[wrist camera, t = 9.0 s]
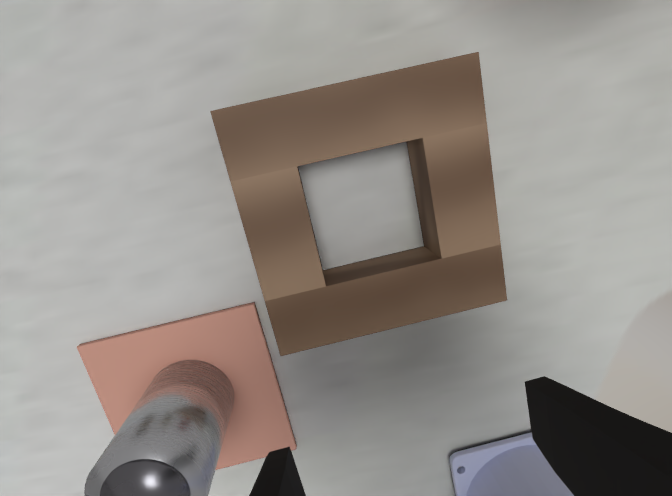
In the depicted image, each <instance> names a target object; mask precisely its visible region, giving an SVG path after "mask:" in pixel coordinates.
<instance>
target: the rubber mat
mask: <svg viewBox="0 0 672 496" xmlns="http://www.w3.org/2000/svg"><path fill="white" fill-rule="evenodd" d="M77 349H78V351H79V353H80V356H81V358H82V360H83V363H84V365H85V367H86V370H87V372H88V374H89V376H90V379H91V381H92V383H93V386H94V388H95V390H96V393H97V395H98V397H99V399H100V402H101V404H102V406H103V409H104V411H105V413H106V416H107V418H108V420H109V422H110V425H111V427H112V429H113V432H114V434H115V435H116V433H117V432H118V430H119V429H120V427H121V426H122V425H123V423H124V422H125V420H126V419H127V417H128V416H129V414H130V413H131V411H132V410H133V408H134V407H135V405H136V404H137V402H138V401H139V400H140V398H141V397H142V395H143V394H144V392H145V391H146V389H147V388H148V386H149V385H150V383H151V382H152V380H153V379H154V377H155V376H156V375H157V374H158V373H159V371H161V370H162V369H163V368H164V367H166V366H168V365H170V364H172V363H174V362H178V361H182V360H199V361H204V362H207V363H209V364H212V365H214V366H215V367H217V368H219V369H220V370H221V371H222V372H223V373H224V374H225V375H226V376H227V377H228V379H229V380H230V382H231V384H232V386H233V390H234V405H233V409H232V412H231V416H230V419H229V423H228V427H227V430H226V434H225V437H224V441H223V444H222V448H221V451H220V455H219V458H218V462H217V466H216V469H215V470H217V469H221V468H225V467H229V466H233V465H237V464H240V463H244V462H248V461H252V460H256V459H260V458H264V457H267V455H268V453H269V452H271V451H275V450H278V449H282V448H286V447H289V446H290V449H291V450H295V449H296V447H297V445H296V442H295V438H294V435H293V432H292V428H291V425H290V421H289V418H288V415H287V411H286V408H285V404H284V401H283V398H282V394H281V391H280V387H279V384H278V381H277V377H276V374H275V370H274V367H273V364H272V360H271V357H270V353H269V350H268V347H267V343H266V340H265V336H264V333H263V330H262V326H261V323H260V319H259V316H258V313H257V309H256V306H255V302H253V303H249V304H245V305H241V306H236V307H232V308H228V309H224V310H220V311H216V312H212V313H207V314H203V315H199V316H195V317H191V318H187V319H182V320H178V321H174V322H170V323H166V324H162V325H158V326H153V327H149V328H145V329H141V330H137V331H133V332H128V333H124V334H120V335H116V336H112V337H108V338H104V339H99V340H95V341H91V342H87V343H83V344H80V345H79V346H77Z"/></svg>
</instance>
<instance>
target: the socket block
mask: <svg viewBox="0 0 672 496" xmlns="http://www.w3.org/2000/svg"><path fill="white" fill-rule="evenodd" d="M210 112H211V115H212V119H213V122H214V126H215V129H216V133H217V136H218V140H219V143H220V146H221V150H222V153H223V157H224V160H225V164H226V167H227V171H228V174H229V178H230V181H231V185H232V188H233V192H234V195H235V199H236V202H237V206H238V209H239V213H240V216H241V220H242V223H243V227H244V230H245V234H246V237H247V241H248V244H249V248H250V251H251V255H252V258H253V262H254V265H255V269H256V272H257V275H258V279H259V282H260V286H261V289H262V293H263V296H264V300H265V303H266V307H267V310H268V314H269V317H270V321H271V324H272V328H273V331H274V335H275V338H276V342H277V345H278V349H279V352H280V356H283V355H287V354H291V353H295V352H299V351H303V350H308V349H312V348H316V347H320V346H324V345H328V344H332V343H336V342H340V341H344V340H348V339H352V338H356V337H360V336H364V335H368V334H372V333H376V332H381V331H385V330H389V329H393V328H397V327H401V326H405V325H409V324H413V323H417V322H421V321H425V320H429V319H433V318H437V317H441V316H445V315H449V314H454V313H458V312H462V311H466V310H470V309H474V308H478V307H482V306H486V305H490V304H494V303H498V302H502V301H506V300H507V295H506V287H505V278H504V269H503V261H502V252H501V243H500V235H499V226H498V217H497V208H496V200H495V191H494V182H493V174H492V165H491V156H490V148H489V139H488V130H487V122H486V113H485V104H484V96H483V87H482V78H481V69H480V61H479V52H476V53H471V54H467V55H462V56H458V57H453V58H449V59H444V60H440V61H435V62H431V63H426V64H422V65H417V66H413V67H408V68H404V69H399V70H395V71H390V72H385V73H381V74H376V75H372V76H367V77H363V78H358V79H354V80H349V81H345V82H340V83H336V84H331V85H327V86H322V87H318V88H313V89H309V90H304V91H300V92H295V93H291V94H286V95H281V96H277V97H272V98H268V99H263V100H259V101H254V102H250V103H245V104H241V105H236V106H232V107H227V108H223V109H218V110H214V111H210ZM406 141H407V146H408V152H409V158H410V164H411V170H412V176H413V182H414V188H415V194H416V200H417V206H418V212H419V218H420V224H421V230H422V236H423V242H424V246H423V247H419V248H415V249H411V250H406V251H402V252H398V253H394V254H390V255H386V256H381V257H377V258H373V259H369V260H365V261H360V262H356V263H352V264H348V265H344V266H340V267H335V268H331V269H327V270H323V269H322V265H321V261H320V257H319V253H318V249H317V244H316V240H315V236H314V232H313V228H312V224H311V219H310V215H309V211H308V207H307V203H306V199H305V194H304V190H303V186H302V182H301V178H300V174H299V170H298V166H301V165H305V164H310V163H314V162H318V161H323V160H327V159H332V158H336V157H340V156H345V155H349V154H354V153H358V152H362V151H367V150H371V149H375V148H380V147H384V146H389V145H393V144H397V143H402V142H406Z"/></svg>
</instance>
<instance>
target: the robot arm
mask: <svg viewBox="0 0 672 496" xmlns="http://www.w3.org/2000/svg"><path fill="white" fill-rule="evenodd" d="M525 387H526V394H527V402H528V409H529V416H530V424H531V431H532V432H531V433H527V434H523V435H519V436H515V437H511V438H508V439H504V440H500V441H496V442H492V443H488V444H485V445H481V446H477V447H473V448H469V449H465V450H462V451H458V452H455V453H453V454H452V455H451V456H450V466H451V472H452V478H453V483H454V489H455V495H456V496H672V433H670V432H668V431H666V430H663V429H661V428H658V427H656V426H653V425H651V424H648V423H646V422H643V421H641V420H639V419H636V418H634V417H632V416H629V415H627V414H625V413H622V412H620V411H618V410H616V409H614V408H611V407H609V406H607V405H605V404H603V403H601V402H598V401H596V400H594V399H592V398H590V397H588V396H586V395H583V394H581V393H579V392H577V391H575V390H573V389H571V388H569V387H567V386H564V385H562V384H560V383H558V382H556V381H554V380H552V379H549V378H547V377H545V376H544V377H540V378H537V379H533V380H530V381H526V382H525ZM460 466H462V467H461V468H458V467H460ZM249 496H306V495H305V492H304V489H303V486H302V483H301V480H300V477H299V474H298V471H297V468H296V465H295V462H294V458H293V455H292V452H291V449H290V446H289V447H286V448H282V449H278V450H275V451H271V452H269V453H268V455H267V457H266V459H265V461H264V464H263V466H262V468H261V471H260V473H259V475H258V477H257V480H256V482H255V484H254V486H253V489H252V491H251V493H250V495H249Z"/></svg>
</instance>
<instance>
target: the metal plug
mask: <svg viewBox="0 0 672 496" xmlns="http://www.w3.org/2000/svg"><path fill="white" fill-rule="evenodd" d="M233 405H234V390H233V386H232V384H231V382H230V380H229V379H228V377H227V376H226V375H225V374H224V373H223V372H222V371H221V370H220V369H219V368H217V367H215V366H214V365H212V364H209V363H207V362H204V361H199V360H182V361H178V362H174V363H172V364H170V365H168V366H166V367H164V368H163V369H162V370H161V371H159V373H158V374H157V375H156V376H155V377H154V379H153V380H152V382H151V383H150V385H149V386H148V388H147V389H146V391H145V392H144V394H143V395H142V397H141V398H140V400H139V401H138V402H137V404H136V405H135V407H134V408H133V410H132V411H131V413H130V414H129V416H128V417H127V419H126V420H125V422H124V423H123V425H122V426H121V427H120V429H119V430H118V432H117V433H116V435H115V436H114V438H113V439H112V441H111V442H110V444H109V445H108V447H107V448H106V450H105V451H104V452H103V454H102V455H101V457H100V458H99V460H98V461H97V463H96V464H95V466H94V467H93V469H92V470H91V472H90V473H89V475H88V477H87V480H86V484H85V491H84V492H85V496H208V494H209V490H210V487H211V483H212V480H213V476H214V473H215V469H216V466H217V462H218V458H219V455H220V451H221V448H222V444H223V441H224V437H225V434H226V430H227V427H228V423H229V419H230V416H231V412H232V409H233Z"/></svg>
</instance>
